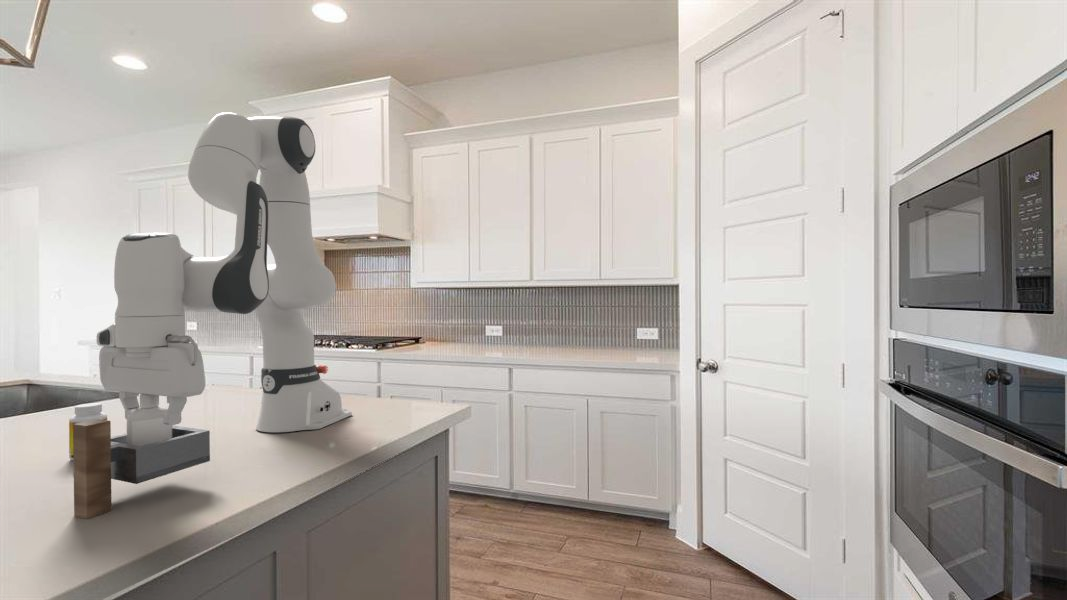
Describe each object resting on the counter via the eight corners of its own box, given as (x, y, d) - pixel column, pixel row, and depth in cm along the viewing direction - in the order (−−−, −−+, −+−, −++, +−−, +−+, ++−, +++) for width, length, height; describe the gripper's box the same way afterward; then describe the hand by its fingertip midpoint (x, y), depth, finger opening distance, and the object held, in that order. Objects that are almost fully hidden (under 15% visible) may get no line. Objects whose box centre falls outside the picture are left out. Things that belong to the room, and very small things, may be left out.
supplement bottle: (66, 464, 94) (65, 409, 94) (72, 456, 98) (72, 404, 98) (105, 458, 97) (104, 405, 97) (109, 451, 102) (109, 400, 101)
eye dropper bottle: (167, 462, 79) (166, 386, 79) (122, 467, 77) (122, 388, 77) (175, 454, 83) (174, 381, 83) (133, 459, 81) (132, 384, 81)
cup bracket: (166, 476, 87) (165, 401, 87) (210, 485, 83) (209, 406, 83) (58, 511, 73) (57, 421, 73) (104, 523, 69) (102, 428, 69)
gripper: (216, 334, 79) (217, 422, 79) (133, 331, 86) (134, 412, 86) (174, 337, 73) (175, 432, 73) (89, 334, 80) (90, 420, 80)
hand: (152, 421), depth 80 cm, fingers open, 8 cm apart
